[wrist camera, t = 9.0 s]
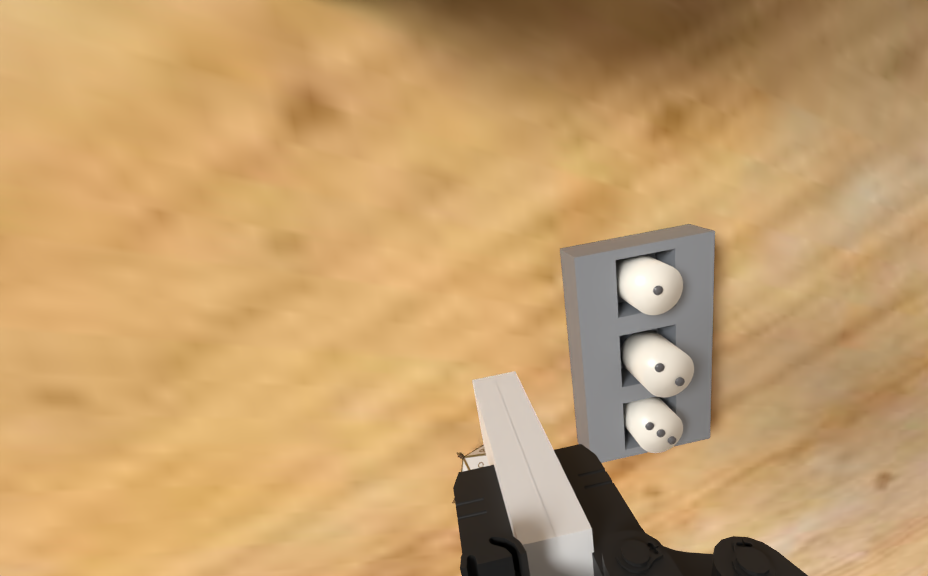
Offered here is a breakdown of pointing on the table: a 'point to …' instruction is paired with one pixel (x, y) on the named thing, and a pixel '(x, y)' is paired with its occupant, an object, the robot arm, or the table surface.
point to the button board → (613, 320)
